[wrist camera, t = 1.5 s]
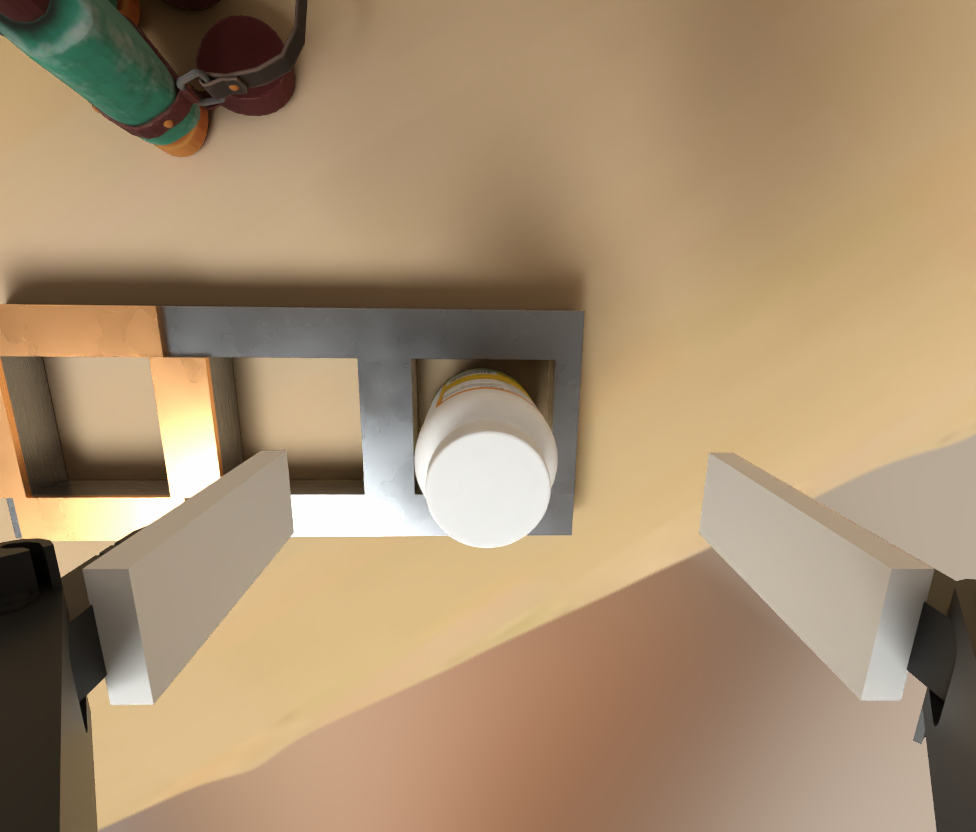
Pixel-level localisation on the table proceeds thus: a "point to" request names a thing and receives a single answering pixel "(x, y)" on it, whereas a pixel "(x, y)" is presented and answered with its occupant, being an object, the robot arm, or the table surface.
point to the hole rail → (214, 414)
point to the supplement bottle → (485, 459)
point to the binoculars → (156, 65)
